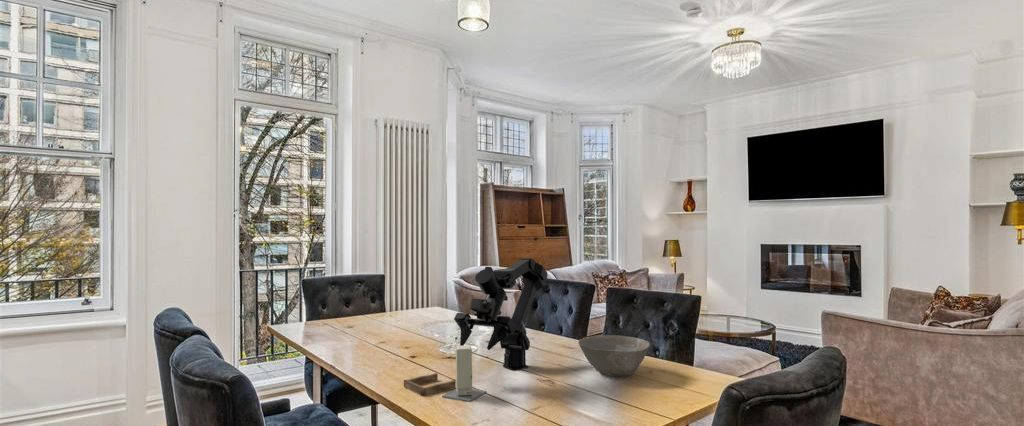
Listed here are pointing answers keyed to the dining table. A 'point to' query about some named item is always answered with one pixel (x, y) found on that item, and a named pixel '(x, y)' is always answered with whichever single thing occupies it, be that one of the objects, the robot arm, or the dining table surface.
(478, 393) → the coaster
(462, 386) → the box
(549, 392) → the dining table surface
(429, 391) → the cradle
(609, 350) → the ceramic bowl
